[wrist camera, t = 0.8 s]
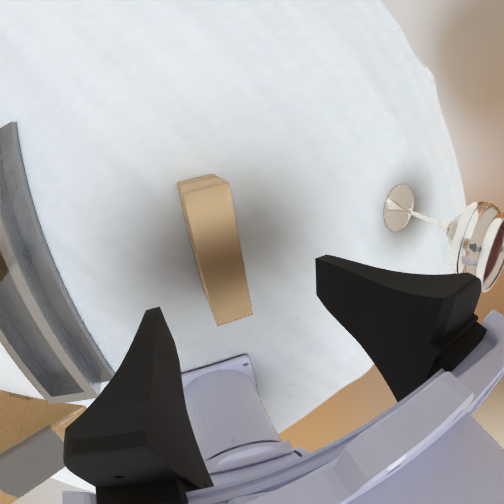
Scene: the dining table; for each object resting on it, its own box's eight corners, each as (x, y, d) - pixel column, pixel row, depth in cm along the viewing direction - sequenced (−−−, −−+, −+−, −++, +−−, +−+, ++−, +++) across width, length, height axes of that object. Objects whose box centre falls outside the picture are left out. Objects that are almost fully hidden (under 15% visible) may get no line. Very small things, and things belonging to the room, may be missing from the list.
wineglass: (396, 162, 22) (508, 194, 12) (425, 195, 25) (516, 232, 15) (366, 223, 24) (474, 280, 13) (400, 248, 27) (487, 300, 16)
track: (114, 373, 21) (114, 419, 16) (43, 386, 19) (35, 427, 14) (16, 122, 11) (-25, 120, 7) (-57, 173, 9) (-96, 187, 4)
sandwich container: (102, 441, 24) (115, 544, 11) (6, 423, 18) (-4, 513, 5) (87, 403, 21) (92, 533, 8) (-21, 382, 16) (-46, 484, 3)
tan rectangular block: (233, 282, 21) (252, 314, 18) (204, 291, 21) (217, 325, 17) (211, 173, 18) (229, 183, 14) (176, 182, 17) (183, 194, 13)
